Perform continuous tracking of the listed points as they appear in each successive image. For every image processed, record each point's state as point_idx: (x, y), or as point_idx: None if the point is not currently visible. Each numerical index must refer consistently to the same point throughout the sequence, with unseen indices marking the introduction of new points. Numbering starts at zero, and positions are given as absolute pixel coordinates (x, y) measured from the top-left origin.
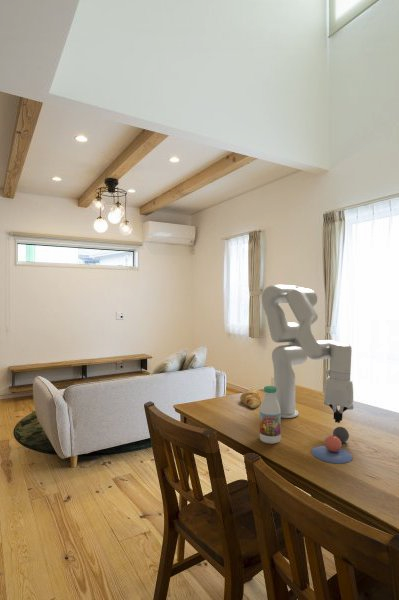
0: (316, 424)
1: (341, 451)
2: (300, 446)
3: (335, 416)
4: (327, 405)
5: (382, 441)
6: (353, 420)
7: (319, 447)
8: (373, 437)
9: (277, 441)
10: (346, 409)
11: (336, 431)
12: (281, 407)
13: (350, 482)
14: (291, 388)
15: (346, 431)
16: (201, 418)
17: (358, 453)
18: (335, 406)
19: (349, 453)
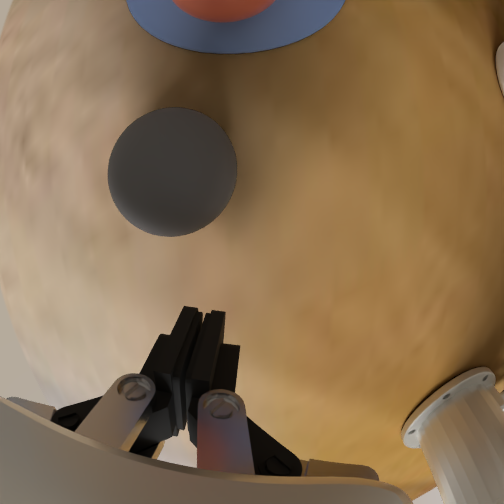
0: (342, 381)
1: (177, 13)
2: (412, 21)
3: (213, 347)
4: (325, 461)
5: (23, 283)
6: (180, 454)
7: (315, 14)
8: (58, 318)
9: (500, 47)
10: (65, 409)
11: (197, 125)
12: (488, 403)
13: None
14: (485, 493)
15: (111, 160)
16: None
17: (90, 53)
18: (199, 455)
19: (134, 13)
